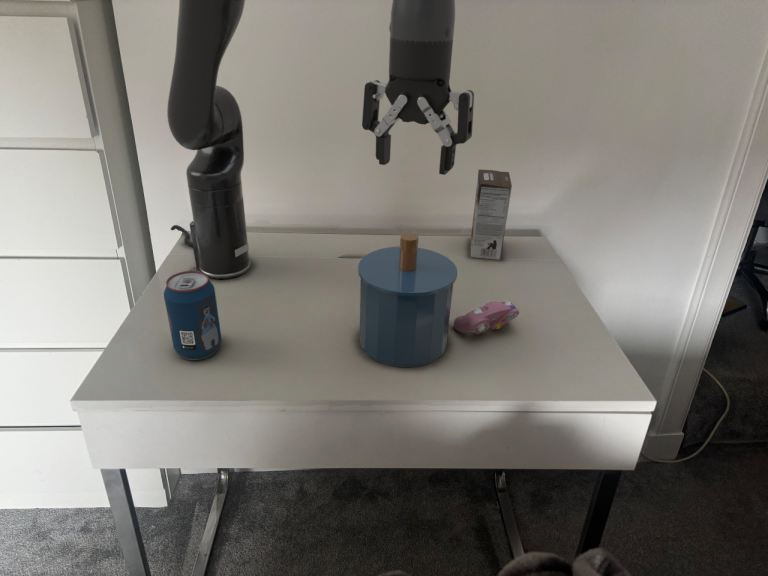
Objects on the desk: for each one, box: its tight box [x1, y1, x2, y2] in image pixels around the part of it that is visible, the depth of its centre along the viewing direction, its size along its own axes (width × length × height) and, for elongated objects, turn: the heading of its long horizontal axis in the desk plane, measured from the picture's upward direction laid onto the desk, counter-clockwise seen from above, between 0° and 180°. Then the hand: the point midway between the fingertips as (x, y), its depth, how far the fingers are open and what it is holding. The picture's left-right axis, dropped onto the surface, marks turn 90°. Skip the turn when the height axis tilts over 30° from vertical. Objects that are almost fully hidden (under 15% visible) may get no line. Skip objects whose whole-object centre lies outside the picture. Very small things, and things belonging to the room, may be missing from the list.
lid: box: [357, 232, 458, 296], centre depth 80 cm, size 15×15×6 cm
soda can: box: [163, 270, 223, 361], centre depth 80 cm, size 7×7×12 cm
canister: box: [359, 278, 454, 368], centre depth 84 cm, size 14×14×12 cm
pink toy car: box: [453, 299, 520, 335], centre depth 89 cm, size 10×5×7 cm, turn 117°
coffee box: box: [470, 169, 513, 261], centre depth 113 cm, size 9×6×16 cm
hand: (413, 168), depth 73 cm, fingers open, 8 cm apart
